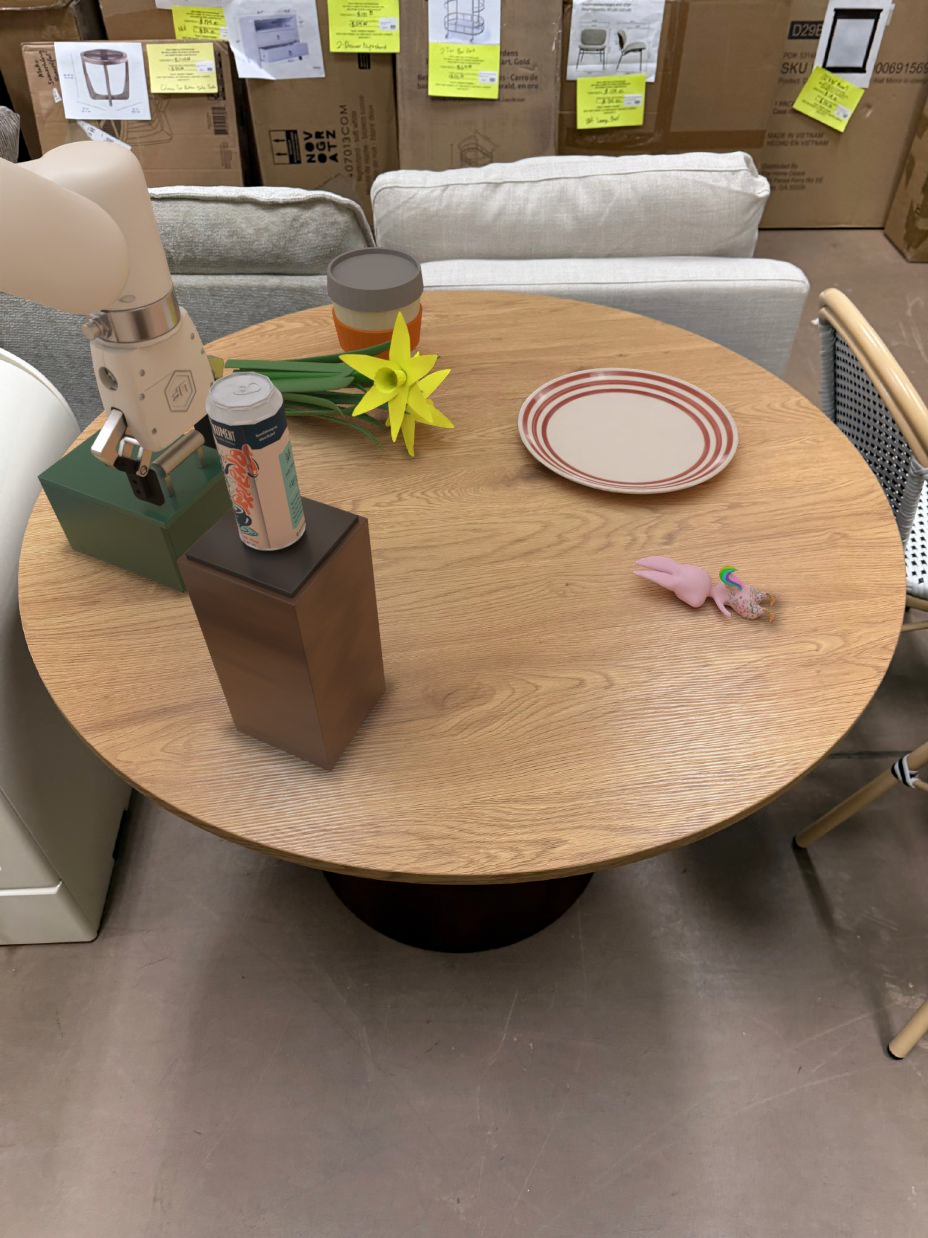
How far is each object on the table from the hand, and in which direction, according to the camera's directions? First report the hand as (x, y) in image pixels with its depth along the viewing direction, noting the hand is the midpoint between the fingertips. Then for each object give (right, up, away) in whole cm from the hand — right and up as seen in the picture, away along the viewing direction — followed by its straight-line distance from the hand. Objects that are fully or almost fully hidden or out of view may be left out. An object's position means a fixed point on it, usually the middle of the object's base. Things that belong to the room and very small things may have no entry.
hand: (183, 472), depth 81 cm
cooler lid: (-5, +1, +3) cm, 6 cm away
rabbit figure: (+53, -13, +5) cm, 55 cm away
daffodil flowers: (+12, +9, +24) cm, 28 cm away
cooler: (-6, -6, +10) cm, 13 cm away
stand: (+14, -23, -5) cm, 28 cm away
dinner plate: (+49, +8, +23) cm, 54 cm away
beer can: (+14, -9, -22) cm, 28 cm away
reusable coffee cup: (+17, +20, +34) cm, 43 cm away
